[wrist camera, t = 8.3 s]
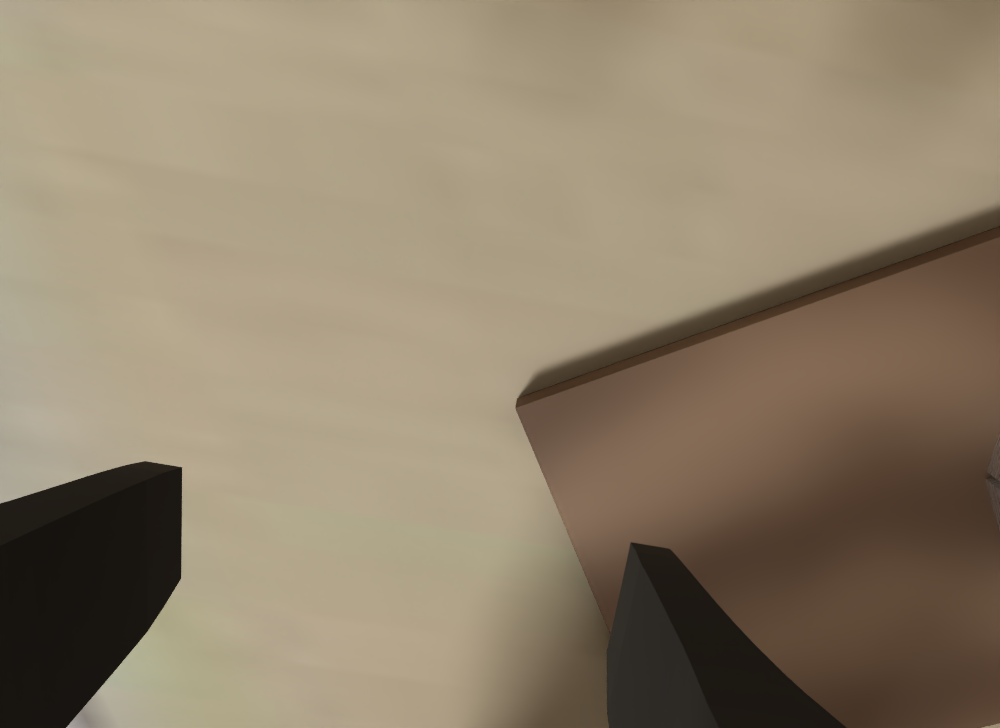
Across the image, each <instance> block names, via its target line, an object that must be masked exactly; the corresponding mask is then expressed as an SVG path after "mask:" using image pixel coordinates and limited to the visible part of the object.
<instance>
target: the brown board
mask: <svg viewBox="0 0 1000 728" xmlns="http://www.w3.org/2000/svg"><path fill="white" fill-rule="evenodd" d="M516 411H517V413H518V415H519V418H520V420H521V423H522V425H523V427H524V430H525V432H526V435H527V437H528V439H529V442H530V444H531V446H532V449H533V451H534V454H535V456H536V458H537V461H538V463H539V465H540V468H541V470H542V473H543V475H544V477H545V480H546V482H547V485H548V487H549V489H550V492H551V494H552V496H553V499H554V501H555V504H556V506H557V508H558V511H559V513H560V515H561V518H562V520H563V523H564V525H565V527H566V530H567V532H568V535H569V537H570V539H571V542H572V544H573V546H574V549H575V551H576V554H577V556H578V558H579V561H580V563H581V565H582V568H583V570H584V573H585V575H586V577H587V580H588V582H589V584H590V587H591V589H592V592H593V594H594V596H595V599H596V601H597V604H598V606H599V608H600V611H601V613H602V615H603V618H604V620H605V623H606V625H607V627H608V630H609V632H610V634H611V631H612V626H613V622H614V617H615V612H616V608H617V603H618V599H619V594H620V589H621V585H622V580H623V575H624V571H625V566H626V562H627V557H628V552H629V548H630V543H631V542H633V543H639V544H645V545H651V546H657V547H663V548H669V549H671V550H672V551H673V552H674V553H675V555H676V556H677V557H678V558H679V559H680V560H681V561H682V563H683V564H684V565H685V566H686V567H687V568H688V570H689V571H690V572H691V573H692V574H693V576H694V577H695V578H696V579H697V580H698V582H699V583H700V584H701V585H702V586H703V587H704V589H705V590H706V591H707V592H708V593H709V595H710V596H711V597H712V598H713V599H714V600H715V601H716V603H717V604H718V605H719V606H720V607H721V608H722V609H723V611H724V612H725V613H726V614H727V615H728V616H729V617H730V618H731V620H732V621H733V622H734V623H735V624H736V625H737V626H738V627H739V628H740V629H741V630H742V631H743V633H744V634H745V635H746V636H747V637H748V638H749V639H750V640H751V641H752V642H753V643H754V644H755V645H756V646H757V647H758V648H759V649H760V650H761V651H762V652H763V653H764V654H765V655H766V656H767V657H768V658H769V659H770V660H771V661H772V662H773V663H774V664H775V665H776V666H777V667H778V668H779V669H780V670H781V671H782V672H783V673H784V674H785V675H786V676H787V677H788V678H790V679H791V680H792V681H793V682H794V683H795V684H796V685H797V686H798V687H799V688H801V689H802V690H803V691H804V692H805V693H806V694H807V695H809V696H810V697H811V698H812V699H813V700H814V701H816V702H817V703H818V704H819V705H820V706H822V707H823V708H824V709H825V710H826V711H828V712H829V713H830V714H831V715H832V716H833V717H835V718H836V719H837V720H838V721H839V722H841V723H842V724H843V725H844V726H845V727H847V728H981V727H985V726H990V725H994V724H998V723H1000V533H999V530H998V527H997V523H996V519H995V515H994V511H993V507H992V503H991V499H990V495H989V491H988V487H987V483H986V480H985V479H986V478H989V477H993V476H992V475H990V474H989V473H988V472H986V469H987V466H988V464H989V461H990V458H991V455H992V453H993V450H994V447H995V445H996V442H997V439H998V437H999V434H1000V227H998V228H995V229H992V230H989V231H986V232H984V233H981V234H978V235H975V236H972V237H970V238H967V239H964V240H961V241H958V242H955V243H953V244H950V245H947V246H944V247H941V248H939V249H936V250H933V251H930V252H927V253H925V254H922V255H919V256H916V257H913V258H911V259H908V260H905V261H902V262H899V263H896V264H894V265H891V266H888V267H885V268H882V269H880V270H877V271H874V272H871V273H868V274H866V275H863V276H860V277H857V278H854V279H851V280H849V281H846V282H843V283H840V284H837V285H835V286H832V287H829V288H826V289H823V290H821V291H818V292H815V293H812V294H809V295H807V296H804V297H801V298H798V299H795V300H792V301H790V302H787V303H784V304H781V305H778V306H776V307H773V308H770V309H767V310H764V311H762V312H759V313H756V314H753V315H750V316H748V317H745V318H742V319H739V320H736V321H733V322H731V323H728V324H725V325H722V326H719V327H717V328H714V329H711V330H708V331H705V332H703V333H700V334H697V335H694V336H691V337H689V338H686V339H683V340H680V341H677V342H674V343H672V344H669V345H666V346H663V347H660V348H658V349H655V350H652V351H649V352H646V353H644V354H641V355H638V356H635V357H632V358H630V359H627V360H624V361H621V362H618V363H615V364H613V365H610V366H607V367H604V368H601V369H599V370H596V371H593V372H590V373H587V374H585V375H582V376H579V377H576V378H573V379H570V380H568V381H565V382H562V383H559V384H556V385H554V386H551V387H548V388H545V389H542V390H540V391H537V392H534V393H531V394H528V395H526V396H523V397H520V398H517V403H516Z"/></svg>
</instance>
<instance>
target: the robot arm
mask: <svg viewBox="0 0 1000 728" xmlns="http://www.w3.org/2000/svg"><path fill="white" fill-rule="evenodd" d="M181 527H182V467H176V466H170V465H164V464H158V463H152V462H146V461H145V462H139V463H134V464H130V465H125V466H122V467H118V468H114V469H111V470H107V471H104V472H100V473H97V474H94V475H91V476H87V477H84V478H81V479H78V480H75V481H71V482H68V483H65V484H62V485H59V486H56V487H53V488H49V489H46V490H43V491H40V492H37V493H34V494H30V495H27V496H24V497H21V498H18V499H15V500H11V501H8V502H4V503H1V504H0V728H66V727H67V726H68V725H69V724H70V722H71V721H72V720H73V719H74V718H75V717H76V715H77V714H78V713H79V712H80V711H81V710H82V708H83V707H84V706H85V705H86V704H87V702H88V701H89V700H90V699H91V698H92V697H93V695H94V694H95V693H96V692H97V691H98V690H99V688H100V687H101V686H102V685H103V684H104V683H105V681H106V680H107V679H108V678H109V677H110V676H111V674H112V673H113V672H114V671H115V670H116V669H117V667H118V666H119V665H120V664H121V663H122V661H123V660H124V659H125V658H126V657H127V655H128V654H129V653H130V652H131V651H132V649H133V648H134V647H135V646H136V645H137V643H138V642H139V641H140V640H141V639H142V637H143V636H144V635H145V634H146V632H147V631H148V630H149V628H150V627H151V625H152V624H153V622H154V621H155V619H156V618H157V616H158V615H159V613H160V612H161V610H162V609H163V607H164V605H165V604H166V602H167V600H168V599H169V597H170V596H171V594H172V592H173V591H174V589H175V587H176V586H177V584H178V582H179V581H180V579H181ZM607 713H608V722H609V728H847V727H845V726H844V725H843V724H842V723H841V722H839V721H838V720H837V719H836V718H835V717H833V716H832V715H831V714H830V713H829V712H828V711H826V710H825V709H824V708H823V707H822V706H820V705H819V704H818V703H817V702H816V701H814V700H813V699H812V698H811V697H810V696H809V695H807V694H806V693H805V692H804V691H803V690H802V689H801V688H799V687H798V686H797V685H796V684H795V683H794V682H793V681H792V680H791V679H790V678H788V677H787V676H786V675H785V674H784V673H783V672H782V671H781V670H780V669H779V668H778V667H777V666H776V665H775V664H774V663H773V662H772V661H771V660H770V659H769V658H768V657H767V656H766V655H765V654H764V653H763V652H762V651H761V650H760V649H759V648H758V647H757V646H756V645H755V644H754V643H753V642H752V641H751V640H750V639H749V638H748V637H747V636H746V635H745V634H744V633H743V631H742V630H741V629H740V628H739V627H738V626H737V625H736V624H735V623H734V622H733V621H732V620H731V618H730V617H729V616H728V615H727V614H726V613H725V612H724V611H723V609H722V608H721V607H720V606H719V605H718V604H717V603H716V601H715V600H714V599H713V598H712V597H711V596H710V595H709V593H708V592H707V591H706V590H705V589H704V587H703V586H702V585H701V584H700V583H699V582H698V580H697V579H696V578H695V577H694V576H693V574H692V573H691V572H690V571H689V570H688V568H687V567H686V566H685V565H684V564H683V563H682V561H681V560H680V559H679V558H678V557H677V556H676V555H675V553H674V552H673V551H672V550H671V549H669V548H663V547H657V546H651V545H645V544H639V543H633V542H631V543H630V548H629V552H628V557H627V562H626V566H625V571H624V575H623V580H622V585H621V589H620V594H619V599H618V603H617V608H616V612H615V617H614V622H613V626H612V631H611V636H610V640H609V645H608V649H607Z"/></svg>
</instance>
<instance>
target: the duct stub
mask: <svg viewBox="0 0 1000 728" xmlns="http://www.w3.org/2000/svg"><path fill="white" fill-rule="evenodd" d="M986 472H988V473H989V474H990V475H992V476H993V477H989V478H986V479H985V480H986V483H987V487H988V491H989V495H990V499H991V503H992V507H993V511H994V515H995V519H996V523H997V527H998V530H999V533H1000V434H999V437H998V439H997V442H996V445H995V447H994V450H993V453H992V455H991V458H990V461H989V464H988V466H987V469H986Z"/></svg>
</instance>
